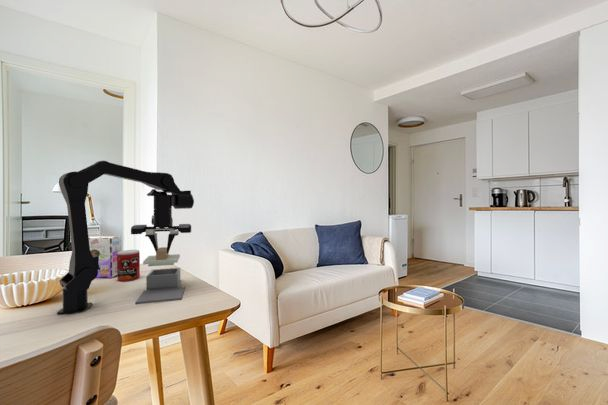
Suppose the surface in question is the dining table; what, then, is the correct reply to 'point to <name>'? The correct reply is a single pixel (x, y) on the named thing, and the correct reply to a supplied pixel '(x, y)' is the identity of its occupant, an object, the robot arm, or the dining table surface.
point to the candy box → (106, 254)
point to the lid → (161, 258)
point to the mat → (160, 295)
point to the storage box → (163, 278)
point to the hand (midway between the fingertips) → (162, 253)
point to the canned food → (128, 265)
